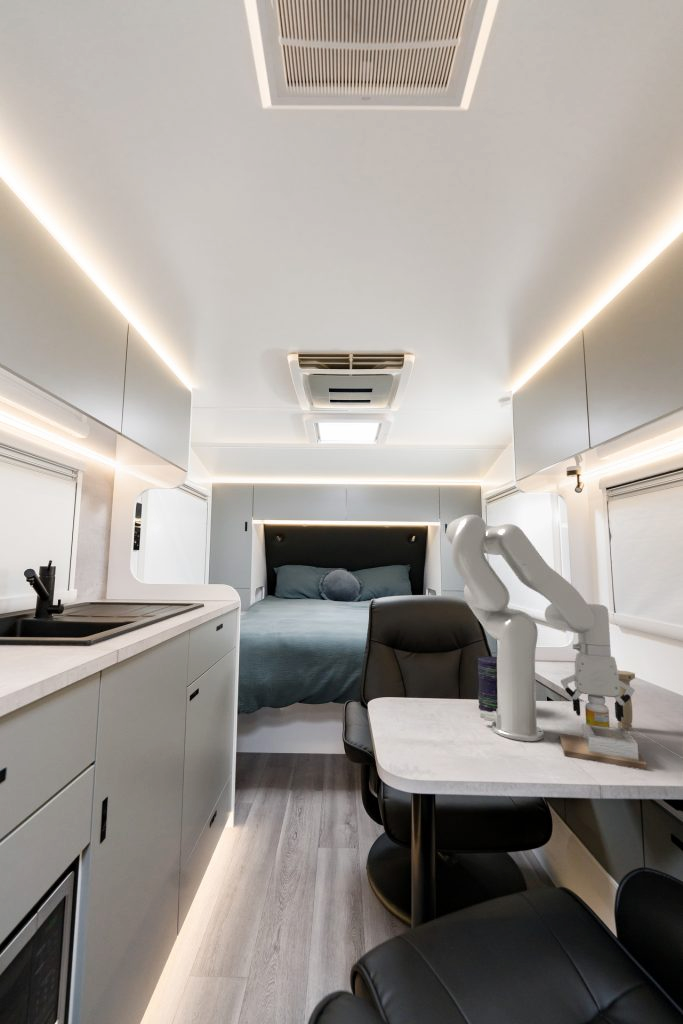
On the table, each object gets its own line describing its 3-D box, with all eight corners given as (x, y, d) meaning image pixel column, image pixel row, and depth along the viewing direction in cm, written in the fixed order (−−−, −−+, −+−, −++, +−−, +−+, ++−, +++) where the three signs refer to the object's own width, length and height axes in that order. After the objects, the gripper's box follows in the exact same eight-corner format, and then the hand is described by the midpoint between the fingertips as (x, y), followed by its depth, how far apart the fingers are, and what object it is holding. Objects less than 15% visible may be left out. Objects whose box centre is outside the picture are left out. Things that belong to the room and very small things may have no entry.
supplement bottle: (584, 729, 116) (582, 692, 117) (606, 732, 114) (604, 694, 116) (589, 736, 111) (587, 697, 112) (612, 739, 109) (610, 700, 111)
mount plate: (564, 756, 98) (564, 750, 98) (559, 738, 109) (558, 733, 109) (647, 770, 92) (647, 764, 92) (632, 749, 103) (632, 744, 103)
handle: (642, 731, 116) (638, 674, 119) (623, 732, 115) (620, 674, 117) (626, 725, 121) (623, 670, 123) (608, 726, 120) (605, 670, 122)
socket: (589, 752, 97) (588, 736, 98) (582, 738, 106) (582, 723, 107) (638, 761, 94) (637, 744, 94) (627, 745, 103) (626, 730, 103)
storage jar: (509, 717, 124) (508, 664, 126) (475, 711, 129) (474, 659, 131) (514, 708, 132) (513, 659, 135) (481, 702, 137) (481, 655, 139)
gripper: (560, 649, 115) (563, 716, 113) (635, 655, 109) (640, 726, 107) (557, 645, 122) (560, 708, 120) (628, 651, 116) (632, 717, 114)
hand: (597, 716), depth 113 cm, fingers open, 9 cm apart
